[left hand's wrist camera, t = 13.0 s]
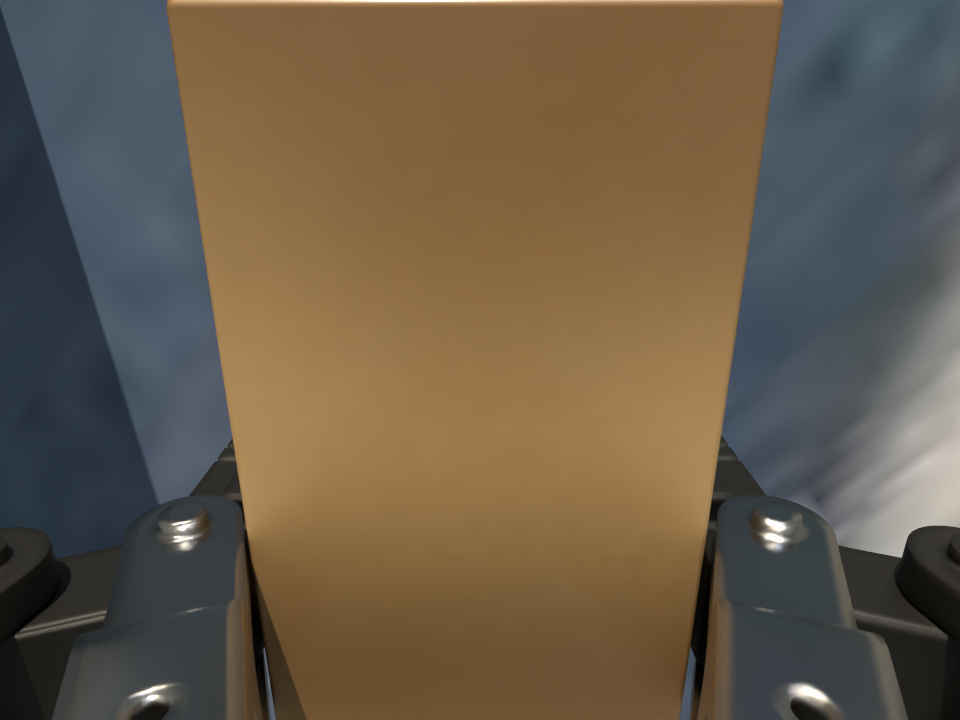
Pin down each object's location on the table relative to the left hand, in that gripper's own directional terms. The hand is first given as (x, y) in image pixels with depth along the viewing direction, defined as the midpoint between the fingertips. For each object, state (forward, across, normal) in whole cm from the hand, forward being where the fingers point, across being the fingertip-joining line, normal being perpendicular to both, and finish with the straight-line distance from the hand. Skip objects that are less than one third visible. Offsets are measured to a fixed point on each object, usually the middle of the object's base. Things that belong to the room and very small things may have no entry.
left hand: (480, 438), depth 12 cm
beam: (+2, 0, -24) cm, 24 cm away
